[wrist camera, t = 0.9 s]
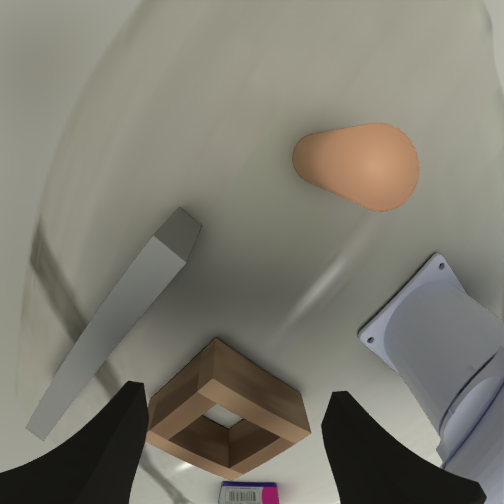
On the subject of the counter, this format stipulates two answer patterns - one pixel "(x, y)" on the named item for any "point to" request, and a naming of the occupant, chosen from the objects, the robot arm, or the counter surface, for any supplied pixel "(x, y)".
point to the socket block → (235, 400)
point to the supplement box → (248, 493)
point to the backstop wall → (117, 316)
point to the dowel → (361, 164)
